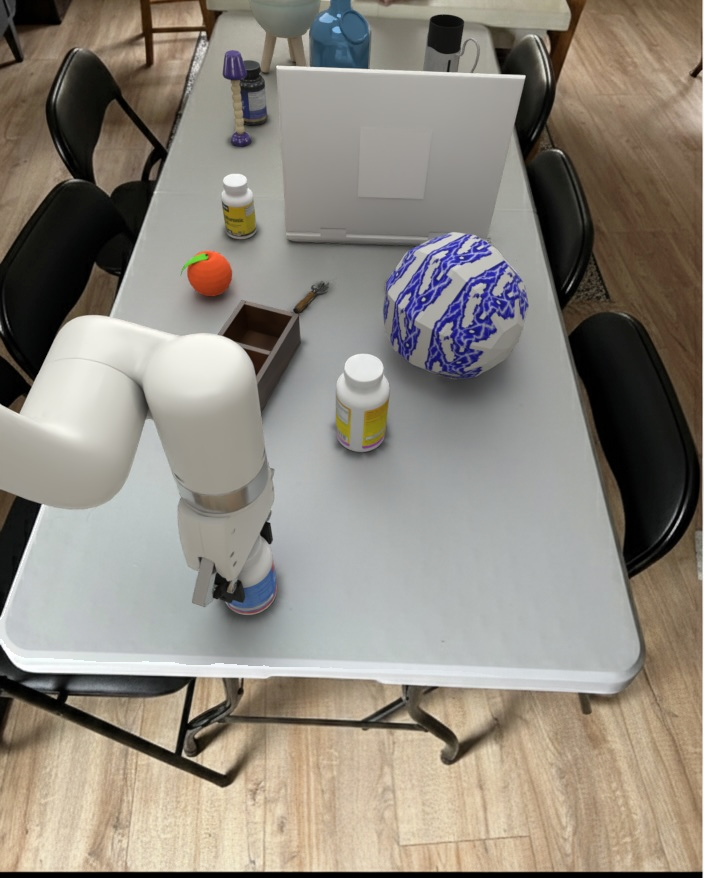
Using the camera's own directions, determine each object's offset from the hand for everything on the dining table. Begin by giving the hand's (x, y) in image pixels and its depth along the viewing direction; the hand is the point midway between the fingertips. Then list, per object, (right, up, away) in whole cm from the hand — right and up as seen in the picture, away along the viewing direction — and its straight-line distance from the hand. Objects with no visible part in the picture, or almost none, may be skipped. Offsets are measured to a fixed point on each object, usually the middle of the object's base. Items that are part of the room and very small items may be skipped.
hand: (244, 565), depth 65 cm
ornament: (+25, +26, +28) cm, 46 cm away
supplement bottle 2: (+12, +14, +19) cm, 26 cm away
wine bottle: (+8, +90, +77) cm, 119 cm away
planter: (-4, +103, +86) cm, 134 cm away
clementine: (-12, +37, +35) cm, 52 cm away
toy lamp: (-12, +75, +65) cm, 100 cm away
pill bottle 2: (0, -4, +5) cm, 6 cm away
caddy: (-4, +23, +25) cm, 34 cm away
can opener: (+5, +36, +35) cm, 50 cm away
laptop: (+17, +57, +52) cm, 79 cm away
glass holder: (+33, +93, +80) cm, 127 cm away
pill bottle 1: (-10, +83, +71) cm, 109 cm away
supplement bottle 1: (-8, +50, +46) cm, 68 cm away
